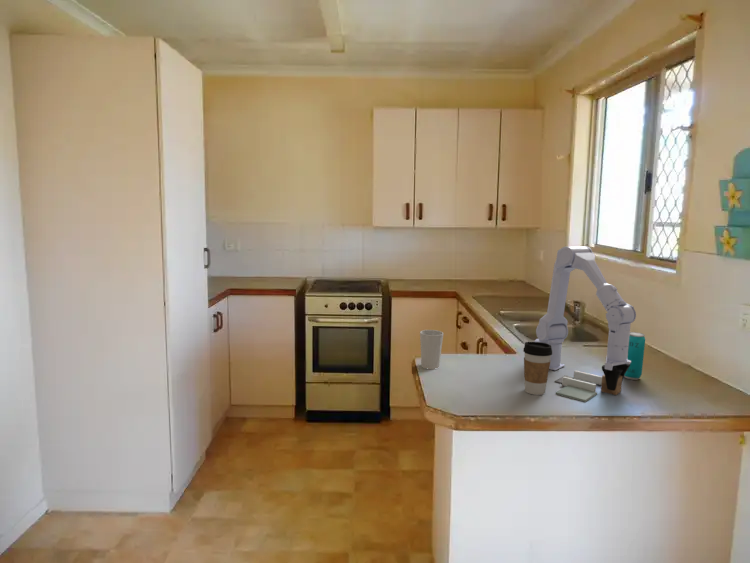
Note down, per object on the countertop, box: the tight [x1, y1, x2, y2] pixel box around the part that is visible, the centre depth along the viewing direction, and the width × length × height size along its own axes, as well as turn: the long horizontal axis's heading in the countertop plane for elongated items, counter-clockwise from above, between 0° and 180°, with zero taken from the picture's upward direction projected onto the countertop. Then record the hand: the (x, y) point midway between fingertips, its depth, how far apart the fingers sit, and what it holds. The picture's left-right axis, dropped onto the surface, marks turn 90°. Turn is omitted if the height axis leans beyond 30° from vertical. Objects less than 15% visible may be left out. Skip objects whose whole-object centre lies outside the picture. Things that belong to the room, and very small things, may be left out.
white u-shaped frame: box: [554, 370, 603, 392], centre depth 172 cm, size 13×10×2 cm
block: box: [600, 374, 623, 396], centre depth 165 cm, size 4×4×5 cm
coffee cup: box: [522, 341, 552, 396], centre depth 163 cm, size 8×8×15 cm
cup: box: [419, 329, 444, 370], centre depth 185 cm, size 8×8×12 cm
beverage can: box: [624, 331, 646, 381], centre depth 178 cm, size 6×6×15 cm
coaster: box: [555, 385, 598, 403], centre depth 163 cm, size 9×9×1 cm
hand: (613, 387), depth 165 cm, fingers closed on block, 4 cm apart
